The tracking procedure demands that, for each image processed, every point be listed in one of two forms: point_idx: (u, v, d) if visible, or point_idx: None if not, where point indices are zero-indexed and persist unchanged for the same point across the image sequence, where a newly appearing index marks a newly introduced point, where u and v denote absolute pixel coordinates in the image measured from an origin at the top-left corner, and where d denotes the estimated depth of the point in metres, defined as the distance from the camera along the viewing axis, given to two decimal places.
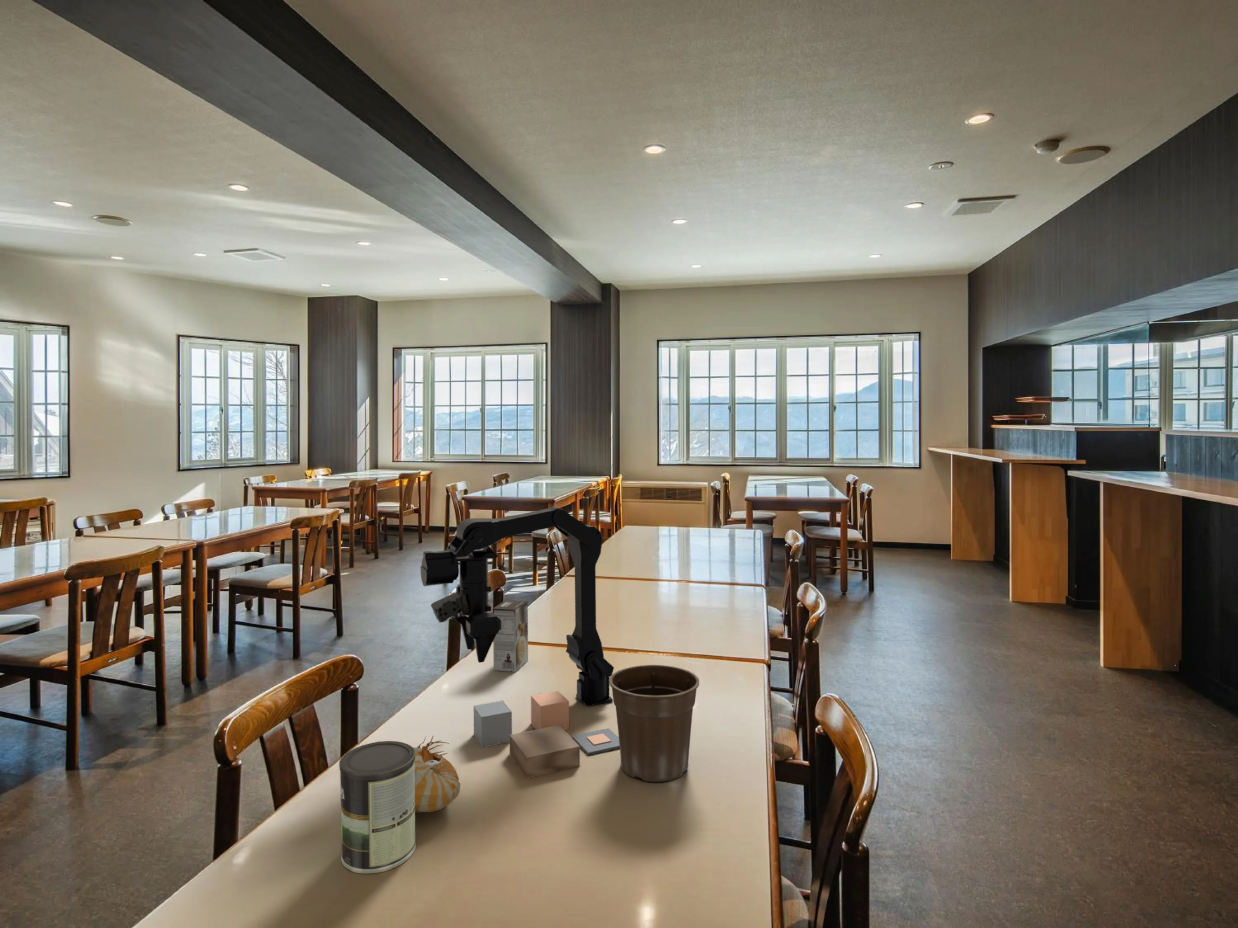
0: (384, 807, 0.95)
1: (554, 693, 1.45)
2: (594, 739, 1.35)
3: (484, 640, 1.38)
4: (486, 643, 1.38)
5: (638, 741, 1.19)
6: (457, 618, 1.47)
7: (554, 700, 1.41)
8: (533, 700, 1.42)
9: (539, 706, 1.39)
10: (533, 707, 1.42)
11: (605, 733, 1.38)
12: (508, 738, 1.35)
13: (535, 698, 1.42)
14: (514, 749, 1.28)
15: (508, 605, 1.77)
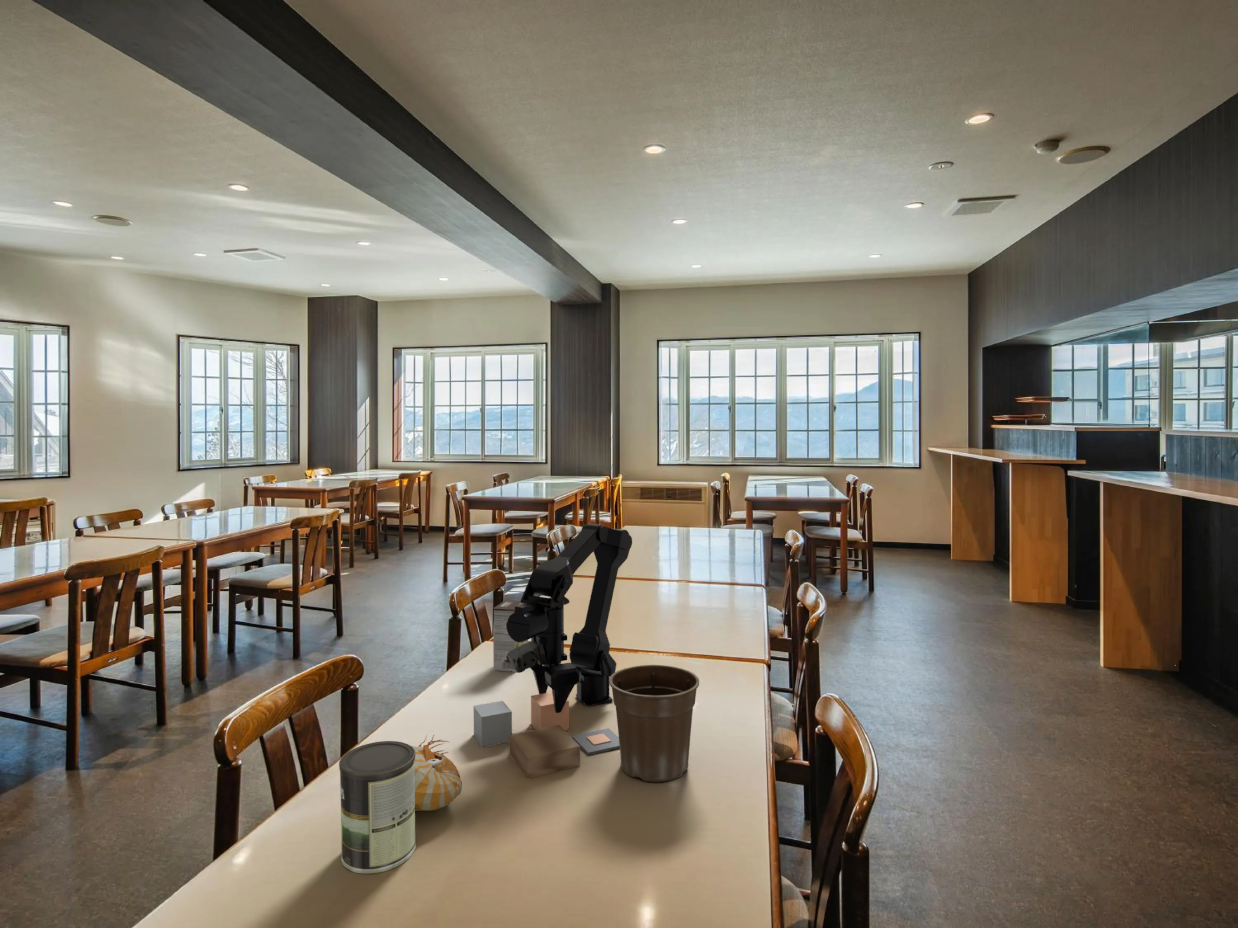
0: (384, 807, 0.95)
1: None
2: (594, 739, 1.35)
3: (562, 691, 1.37)
4: (564, 694, 1.37)
5: (638, 741, 1.19)
6: None
7: None
8: (533, 700, 1.42)
9: (539, 706, 1.39)
10: (533, 707, 1.42)
11: (605, 733, 1.38)
12: (508, 738, 1.35)
13: (535, 698, 1.42)
14: (514, 749, 1.28)
15: (508, 605, 1.77)
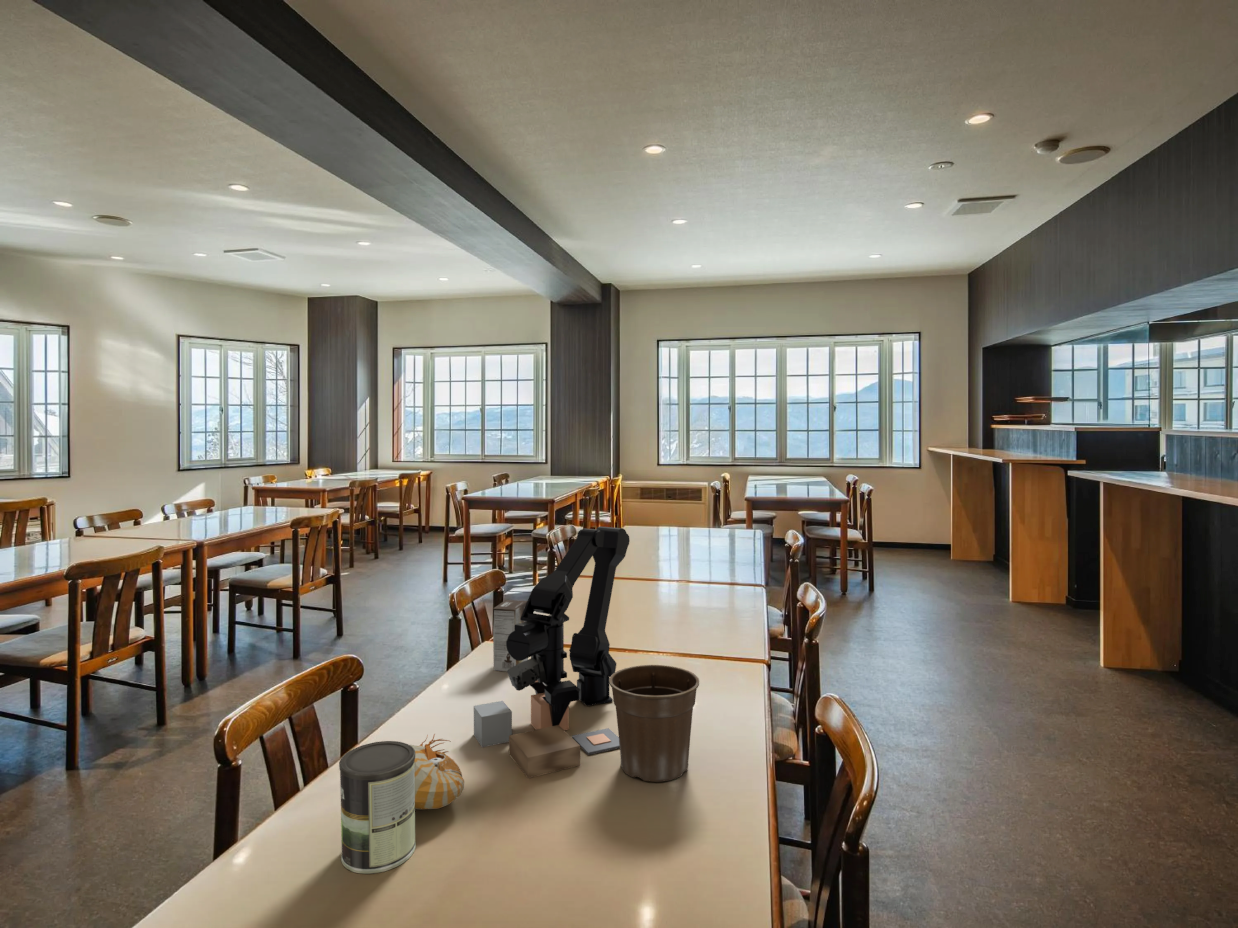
0: (384, 807, 0.95)
1: None
2: (594, 739, 1.35)
3: (559, 706, 1.38)
4: (561, 709, 1.39)
5: (638, 741, 1.19)
6: (532, 685, 1.44)
7: None
8: (533, 700, 1.42)
9: (539, 706, 1.39)
10: (533, 707, 1.42)
11: (605, 733, 1.38)
12: (508, 738, 1.35)
13: (535, 698, 1.42)
14: (514, 749, 1.27)
15: (508, 605, 1.77)
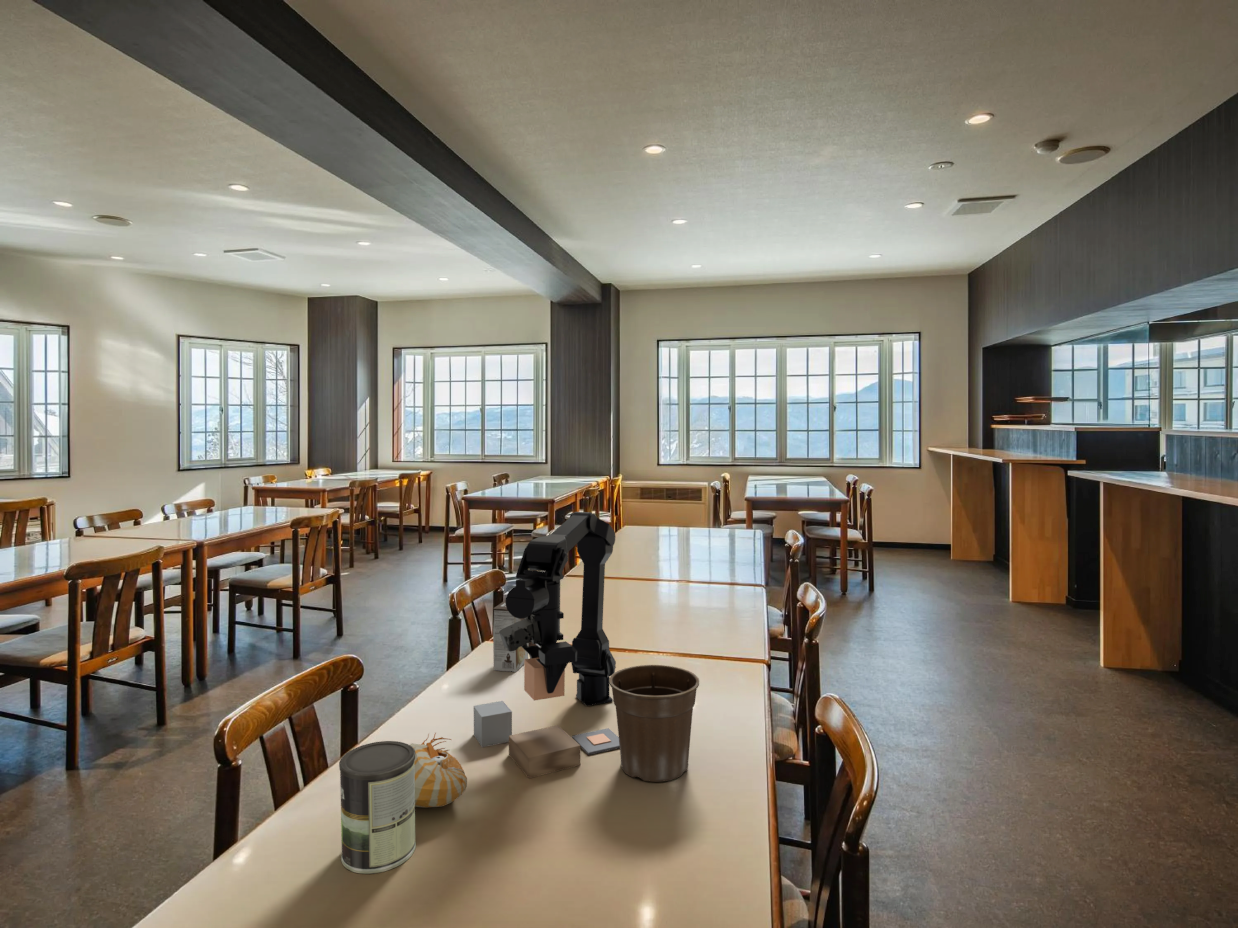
0: (384, 807, 0.95)
1: None
2: (594, 739, 1.35)
3: (554, 669, 1.29)
4: (557, 673, 1.29)
5: (638, 741, 1.19)
6: (526, 648, 1.35)
7: None
8: (526, 663, 1.32)
9: (533, 669, 1.29)
10: (526, 671, 1.32)
11: (605, 733, 1.38)
12: (508, 738, 1.35)
13: (529, 661, 1.32)
14: (514, 749, 1.27)
15: None
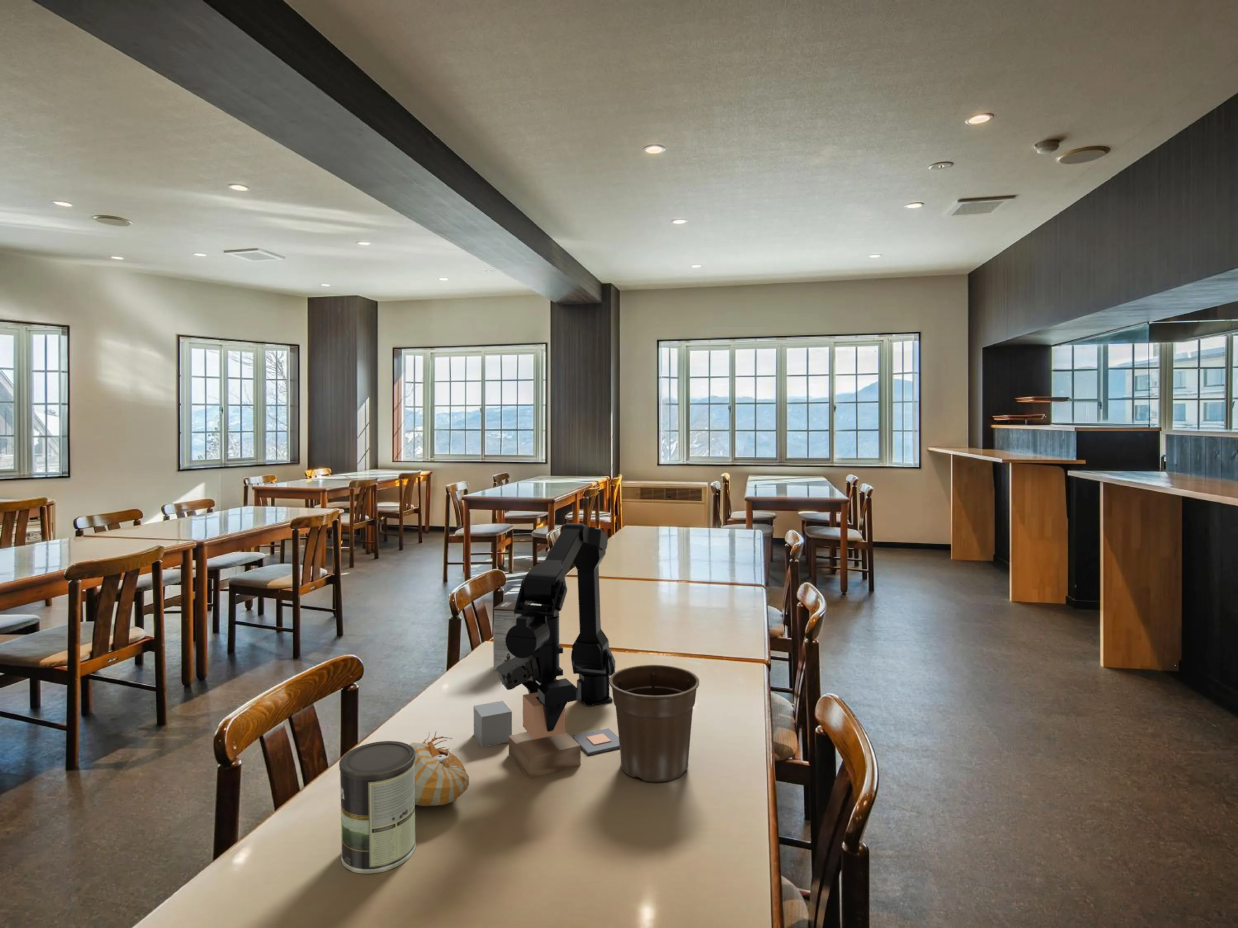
0: (384, 807, 0.95)
1: None
2: (594, 739, 1.35)
3: (554, 707, 1.24)
4: (557, 711, 1.24)
5: (638, 741, 1.19)
6: (524, 683, 1.30)
7: None
8: (525, 700, 1.27)
9: (531, 706, 1.24)
10: (525, 708, 1.28)
11: (605, 733, 1.38)
12: (508, 738, 1.35)
13: (527, 697, 1.27)
14: (514, 749, 1.27)
15: (508, 605, 1.77)
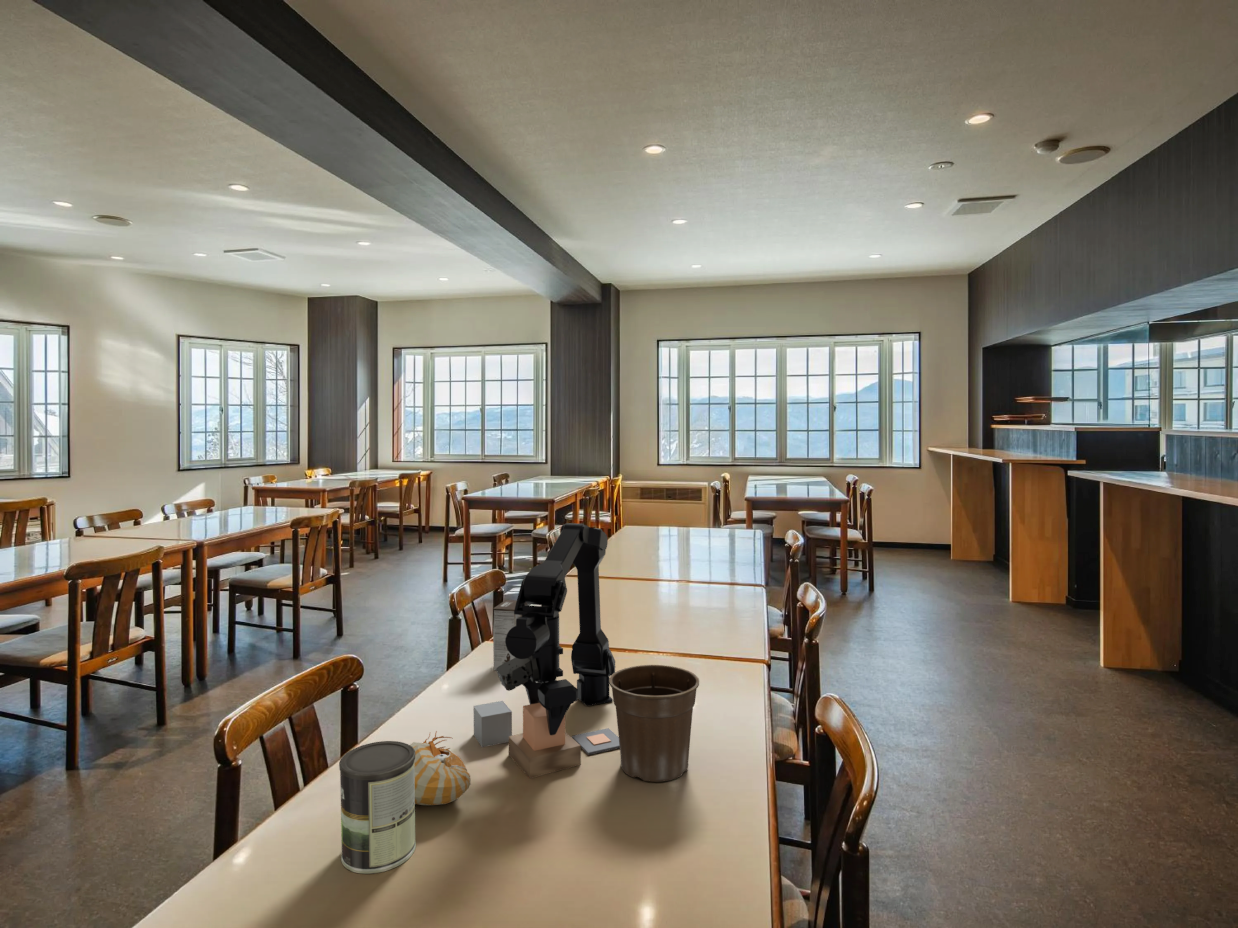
0: (384, 807, 0.95)
1: None
2: (594, 739, 1.35)
3: (557, 710, 1.23)
4: (559, 714, 1.23)
5: (638, 741, 1.19)
6: None
7: None
8: (525, 711, 1.27)
9: (532, 718, 1.24)
10: (525, 719, 1.28)
11: (605, 733, 1.38)
12: (508, 738, 1.35)
13: (528, 709, 1.27)
14: (514, 750, 1.27)
15: (508, 605, 1.77)
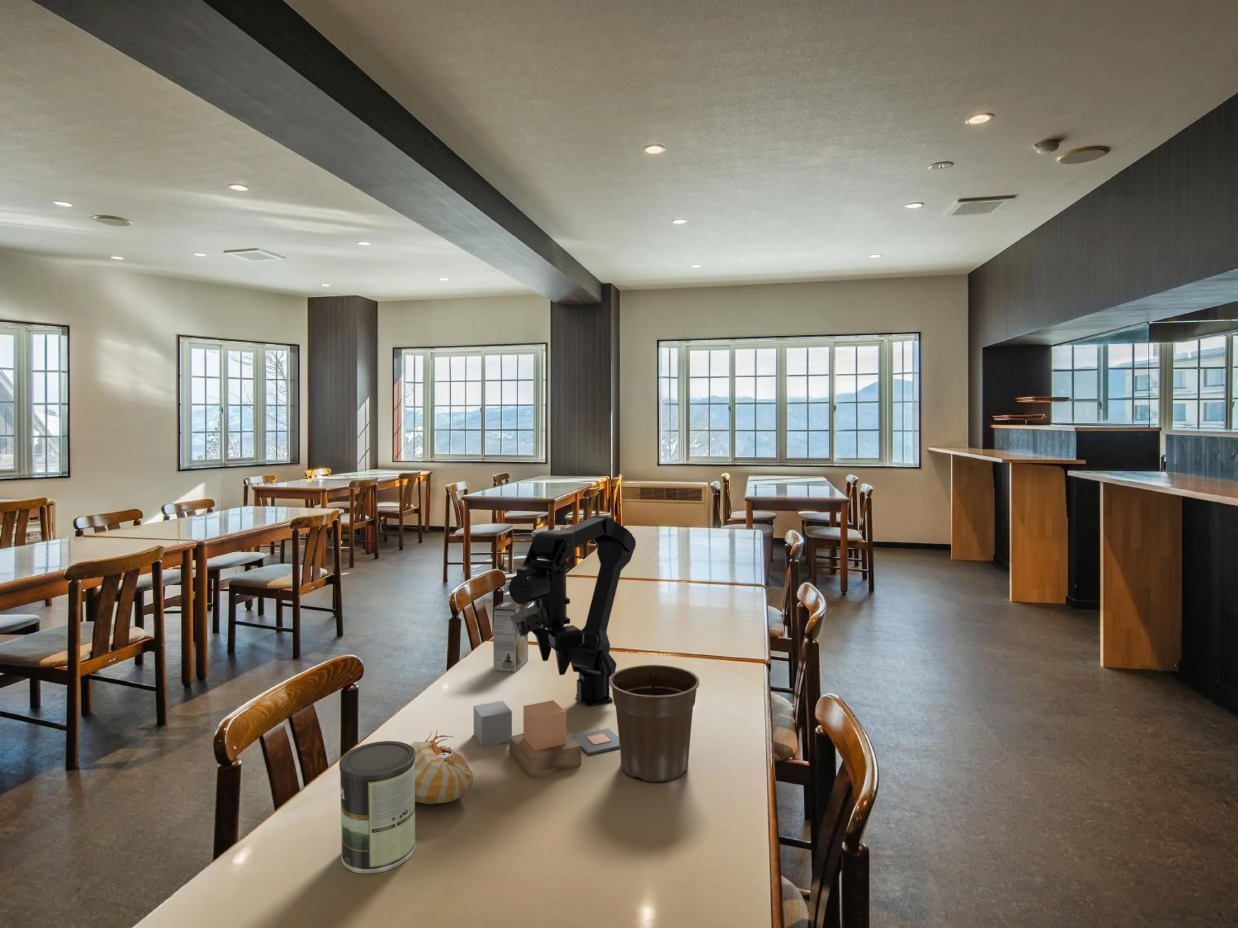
0: (384, 807, 0.95)
1: (549, 703, 1.30)
2: (594, 739, 1.35)
3: (566, 653, 1.38)
4: (568, 656, 1.38)
5: (638, 741, 1.19)
6: (533, 630, 1.46)
7: (550, 711, 1.26)
8: (526, 711, 1.27)
9: (533, 718, 1.24)
10: (526, 719, 1.27)
11: (605, 733, 1.38)
12: (508, 738, 1.35)
13: (528, 709, 1.27)
14: (514, 750, 1.27)
15: (508, 605, 1.77)
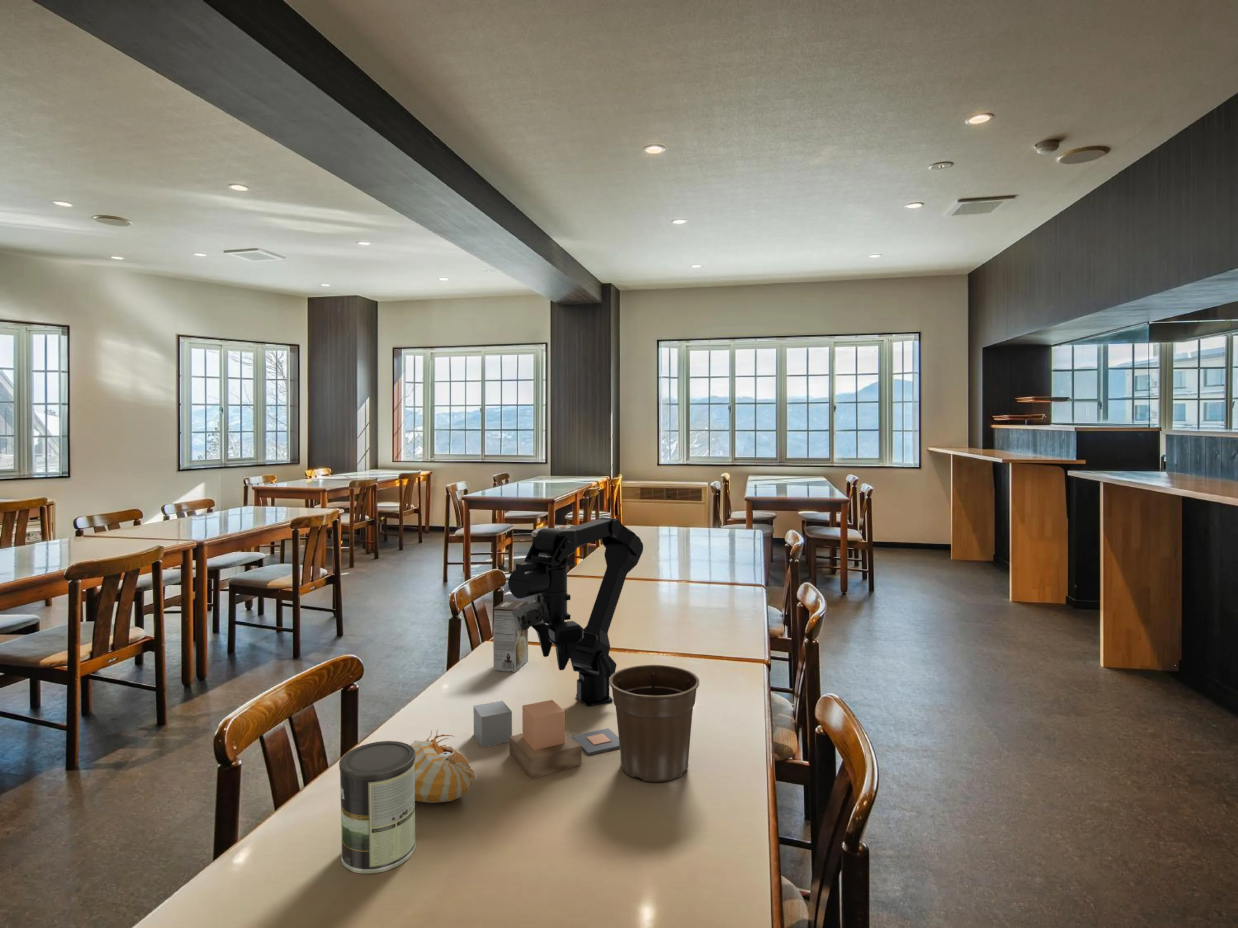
0: (384, 807, 0.95)
1: (548, 702, 1.30)
2: (594, 739, 1.35)
3: (565, 648, 1.40)
4: (568, 651, 1.40)
5: (638, 741, 1.19)
6: (534, 626, 1.48)
7: (549, 710, 1.27)
8: (525, 710, 1.28)
9: (532, 717, 1.24)
10: (525, 718, 1.28)
11: (605, 733, 1.38)
12: (508, 738, 1.35)
13: (527, 708, 1.28)
14: (515, 750, 1.27)
15: (508, 605, 1.77)
